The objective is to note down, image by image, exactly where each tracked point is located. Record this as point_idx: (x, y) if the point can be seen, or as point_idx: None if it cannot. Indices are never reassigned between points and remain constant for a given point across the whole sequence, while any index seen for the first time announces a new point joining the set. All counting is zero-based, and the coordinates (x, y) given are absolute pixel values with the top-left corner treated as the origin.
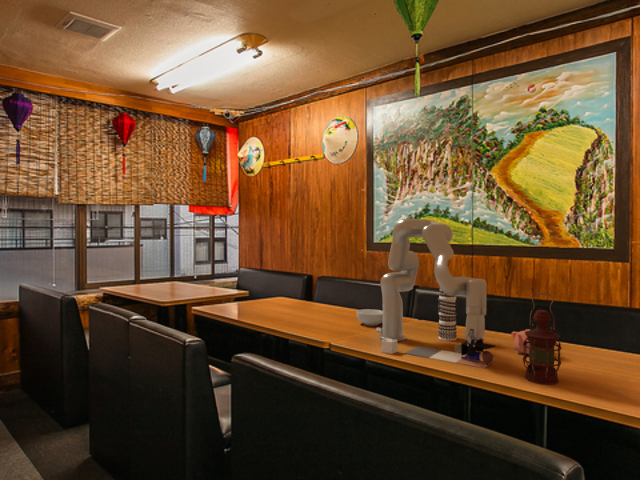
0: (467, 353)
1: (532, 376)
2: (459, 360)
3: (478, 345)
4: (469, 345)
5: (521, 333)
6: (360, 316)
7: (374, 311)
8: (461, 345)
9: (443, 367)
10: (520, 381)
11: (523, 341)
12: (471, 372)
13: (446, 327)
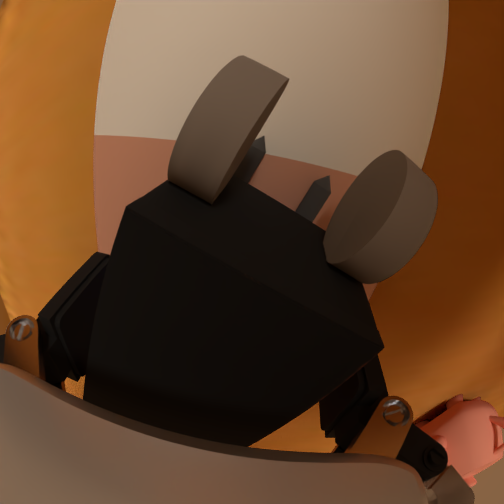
0: (87, 260)
1: None
2: (159, 145)
3: (118, 405)
4: (22, 336)
5: (465, 475)
6: None
7: None
8: (144, 196)
9: (3, 110)
10: (78, 389)
11: None
12: (22, 259)
13: None
